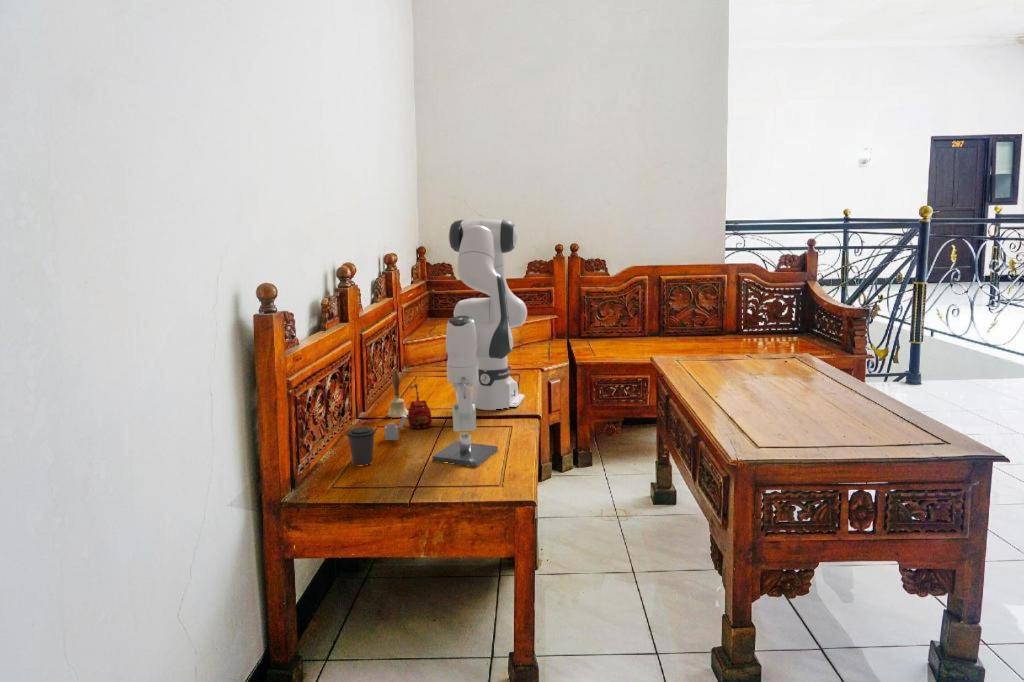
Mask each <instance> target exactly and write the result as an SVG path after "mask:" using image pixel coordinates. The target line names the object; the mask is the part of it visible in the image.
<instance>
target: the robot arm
mask: <svg viewBox="0 0 1024 682" xmlns="http://www.w3.org/2000/svg"><path fill="white" fill-rule="evenodd" d="M517 241H518V231H517V229H516V226H515V223H513V222H512V221H511V220H507V219H502V220H500V219H494V218H481V219H480V218H479V219H466V220H464V219H460V220H456V221H454V222H453V223H451V224H450V227H449V230H448V242H449V246H450V248H451V249H452V250H453V251H454V252H456V253H458V256H457V265H456V266H457V275H458V277H459V280H460V281H461V282H462V283H463V284H464V285H465V286H466V287H469V289H472V290H473V291H474V290H475V291H478V292H480V293H482V294H485V295H487V296H489V297H471V298H470V297H469V298H467V299H462V300H459V301H458V302H457V303H456V305H455V307H454V309H453V317H450V318H449V319H448V321H447V324H446V331H445V332H446V334H445V350H446V353H447V361H446V374H447V376H446V380H447V382H448V383H451V387H453V388H454V391H455V397H456V405H458V411H459V414H460V415H461V417H462V426H468V418H469V414H472V404H474V405H475V409H478V410H482V411H497V410H496V409H502V410H504V409H503V408H507V409H510V408H509V407H517V406H518V405H519V406H520V404H521V403H522V401H524V399H525V394H523V393H519V385H518V383H517V381H516V380H514V379H513V378H512V377H511V372H510V371H512V369H513V367H512V366H513V365H512V364H508V355H509V354H511V352H512V351H513V348H514V347H513V346H514V339H513V338H514V336H513V334H512V333H513V332H512V330H511V329H513V328H518V327H521V326H523V325H524V324H525V322H526V320H527V317H528V308H527V306H526V303H525V302H524V300H522V299H521V298H519V297H518V296H516V295H515V294H514V293H513V292H512V290H511V289H510V288H509V285H508V284H507V278H506V270H505V269H506V267H505V254H506V253H510V252H512V251H514V249H515V247H516V245H517ZM471 388H472V389H471ZM519 406H518V407H519ZM518 407H517V408H518Z"/></svg>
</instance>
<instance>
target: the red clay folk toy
mask: <svg viewBox="0 0 1024 682" xmlns="http://www.w3.org/2000/svg"><path fill="white" fill-rule="evenodd" d="M414 382H415V384H414V385H410V386H409V387H410V389H413V388H415V390H416V392H415V393H416V401H413V400H412V401H411V402H410V406H409V408H408V417H407V419H408V421H407V423H408V425H409V428H410V429H412V430H414V429H415V430H418V429H423V430H424V429H428V428H431V424H432V413H431V409H430V407H429V405H428V404H427V401H426V400H424V399H423V400H420V397H419V394H420V393H419V392H420V391H418V385H419V383H418V384H417V381H416V380H415V381H414Z"/></svg>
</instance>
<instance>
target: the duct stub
mask: <svg viewBox="0 0 1024 682" xmlns="http://www.w3.org/2000/svg"><path fill="white" fill-rule="evenodd" d="M471 436H472V435H471V433H469V432H462V433H459V437H458V438H459V440H455V441H454V442H452V443H450V444H449V445H447V446H446V447H443V448H442V449H441V450H439V451H438V452H437V453H435V454H433V455H432V456H431V458H432V459H431V460H432V462H435V461H439V462H438V463H442V462H448V463H447V464H449V463H454V464H453V465H457V464H461V465H460V466H464V465H469V466H468V467H471V466H475V467H474V468H478V467H479V466H480V465H482V464H483V463H484V462H486V461H487V460H488V459H490V458H491V457H492V456H494V455H495V454H497V453H498V452H499V448H498V446H497V445H489V444H481V443H473V442H472V441H471V440H472V439H471V438H472V437H471ZM494 453H495V454H494ZM491 455H492V456H491ZM490 456H491V457H490ZM489 457H490V458H489ZM486 459H487V460H486ZM485 460H486V461H485ZM481 463H482V464H481ZM477 466H478V467H477Z"/></svg>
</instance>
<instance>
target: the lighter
mask: <svg viewBox="0 0 1024 682" xmlns="http://www.w3.org/2000/svg"><path fill="white" fill-rule="evenodd" d="M407 419H408V417H407V415H405V414H403V417H402V418H400V421H399V424H398V425H395V422H391V423H387V424H386V425H385V426H384V441H385V440H398V439H399V440H400V432H399V431H400V429H403V427H404V425H405V423H406V421H407ZM399 440H398V441H399Z"/></svg>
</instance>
